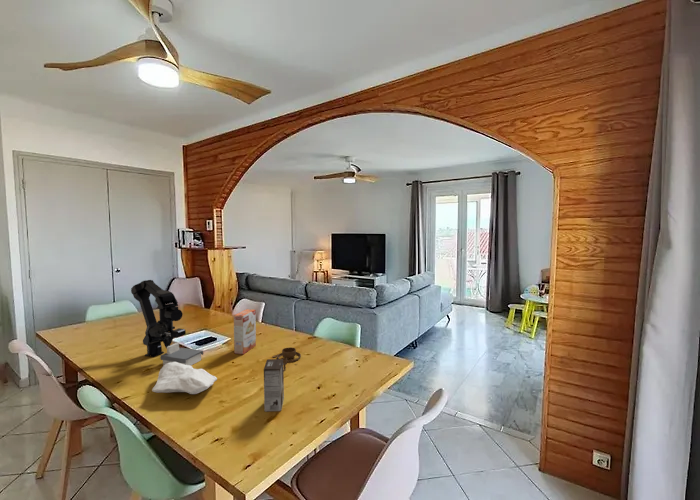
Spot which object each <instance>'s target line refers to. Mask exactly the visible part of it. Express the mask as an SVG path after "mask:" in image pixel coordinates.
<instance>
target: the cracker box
mask: <svg viewBox="0 0 700 500" xmlns="http://www.w3.org/2000/svg"><path fill="white" fill-rule="evenodd" d="M256 313H257V312H256V309H253V308H252V309H251V308H246V309H244V310H242V311H240V312H238V313H236V314H234V315H233V343H234V344H233V346H234V347H233V348H234V349H233V351H234V352H233V353H234V354H236V355H245V354H246V353H247V352H249V351H250V350H251V349H253V348H254V347H256V343H257V335H256V334H257V331H256V330H257V325H256V323H257V322H256V321H257V320H256V318H257V317H256V316H257V315H256Z"/></svg>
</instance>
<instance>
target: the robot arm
mask: <svg viewBox="0 0 700 500" xmlns="http://www.w3.org/2000/svg"><path fill="white" fill-rule="evenodd" d="M130 292H131V294H132V296H133V298H134V299H135V300H136V301H137V302H138V303H139V306H140V309H141V312H142V314H143V319H144V321H145V326H146V329H145V331H144V333H145V336H144V337H143V338H142V344H143V345H144V346H146V353H145V354H144V356H145V357H150V358H151V357H153V358H155V357H157V356H159V355H160V356H161V355H163V354H165V351H163V348H162V343H163V344H164V345H163V346H164V347H165V349H167V347H168V346H170V345H172V342H173V340H174V338H177V339H178V338H180V337H183V336H185V335H186V334H187V333H186V329H184V328H176V327H175V326H174V322H178V321H180V320H181V319H182V317H183V314H184V313H183V311H182V310H181V309H179V304H178V303H179V302H178V300H177V298H176V297H175V295H174V293H173V292H171V291H169V290H164V289H163V288H161V287H160V286H159V285H158V284H157V283H155V281H154V279H148V280H146V279H145V280H142V281H141V282H139V283H137V284H134V285H132V287H131V289H130ZM151 295H152V296H153V297H154V298H155V299H154V301H155V302H156V304H157V309H159V310H158V311H159V314H158V315H159V320H157V319H156V315H155V312H154V309H153V306H152V302H151V300H150V297H151Z"/></svg>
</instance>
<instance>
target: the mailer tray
mask: <svg viewBox="0 0 700 500" xmlns="http://www.w3.org/2000/svg"><path fill="white" fill-rule="evenodd" d="M200 361H202V354H201V353H199V354H197V355H195V356H193V357H191V358H189V359H187V360H186V363H181V364H184V365H190V366H193V365H195V364H197V363H198V362H200ZM170 362H173V361H166V360H162V365H163V366H164V365H165V364H167V363H170ZM178 363H180V362H178Z"/></svg>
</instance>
